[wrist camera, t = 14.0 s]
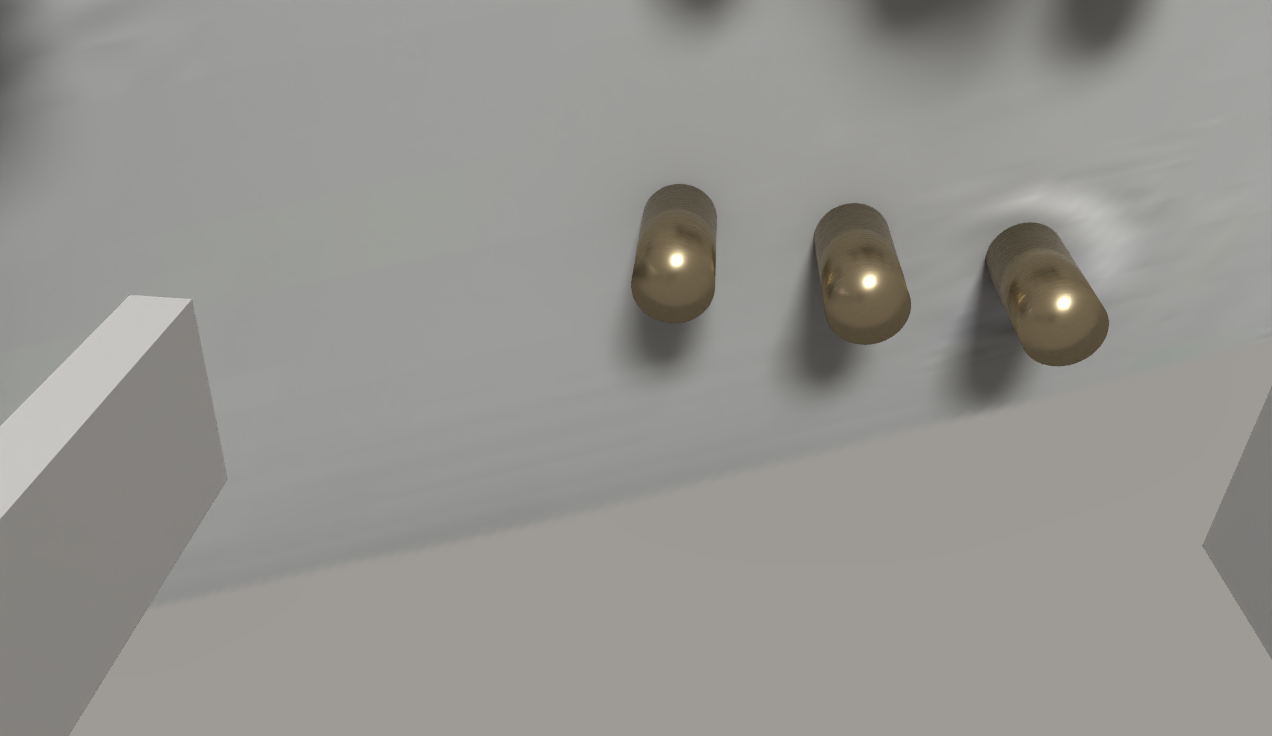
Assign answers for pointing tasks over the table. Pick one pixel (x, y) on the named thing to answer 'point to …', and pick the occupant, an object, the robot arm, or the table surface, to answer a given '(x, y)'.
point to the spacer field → (871, 276)
